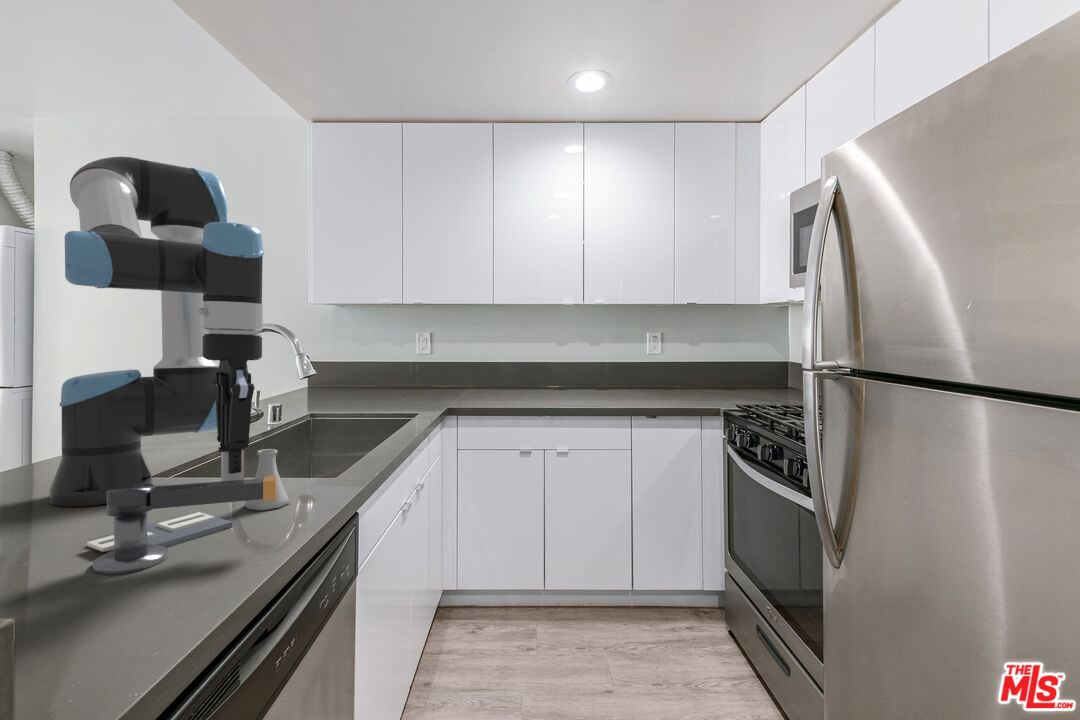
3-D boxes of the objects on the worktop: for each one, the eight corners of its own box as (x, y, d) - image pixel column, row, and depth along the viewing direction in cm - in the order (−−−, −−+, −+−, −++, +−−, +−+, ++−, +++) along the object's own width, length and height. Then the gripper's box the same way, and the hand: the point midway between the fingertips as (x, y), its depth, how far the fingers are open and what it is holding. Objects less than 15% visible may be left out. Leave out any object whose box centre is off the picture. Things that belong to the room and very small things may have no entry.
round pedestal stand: (80, 566, 72) (80, 517, 71) (148, 546, 79) (147, 501, 78) (111, 579, 68) (111, 528, 68) (179, 557, 75) (179, 511, 75)
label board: (79, 547, 78) (79, 538, 78) (196, 516, 92) (196, 507, 92) (115, 562, 73) (115, 552, 73) (232, 526, 87) (232, 518, 87)
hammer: (101, 518, 70) (100, 495, 70) (113, 507, 74) (113, 485, 74) (275, 502, 78) (275, 481, 78) (277, 493, 82) (276, 473, 82)
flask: (259, 514, 94) (259, 456, 93) (236, 506, 98) (236, 451, 97) (297, 503, 100) (297, 449, 99) (274, 497, 104) (274, 445, 103)
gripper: (194, 331, 81) (194, 487, 82) (213, 332, 71) (212, 509, 73) (249, 332, 86) (249, 480, 87) (274, 333, 76) (273, 499, 78)
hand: (232, 493), depth 80 cm, fingers closed
